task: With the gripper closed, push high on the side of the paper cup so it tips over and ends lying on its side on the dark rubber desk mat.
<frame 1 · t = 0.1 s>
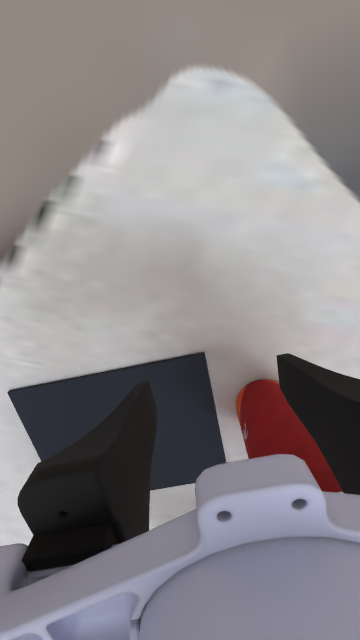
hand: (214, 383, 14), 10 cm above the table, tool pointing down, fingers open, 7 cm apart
desk mat: (126, 435, 27), on the table
paper cup: (262, 401, 26), on the table
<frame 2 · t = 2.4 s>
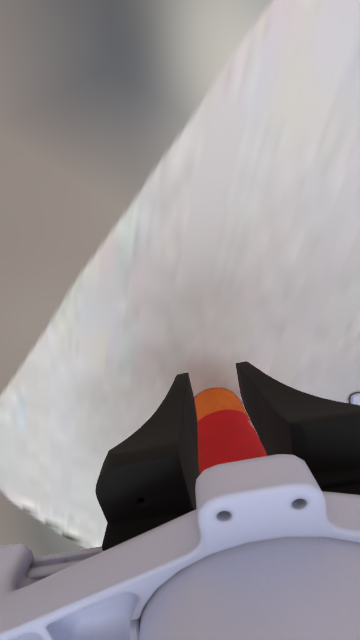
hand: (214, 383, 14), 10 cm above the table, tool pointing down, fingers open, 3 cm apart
paper cup: (215, 408, 27), on the table
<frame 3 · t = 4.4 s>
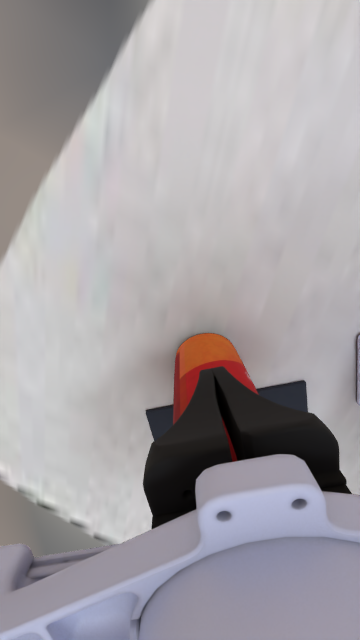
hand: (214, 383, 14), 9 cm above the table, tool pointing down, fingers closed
desk mat: (237, 469, 28), on the table
paper cup: (205, 355, 23), point 1 cm above the table, touching gripper
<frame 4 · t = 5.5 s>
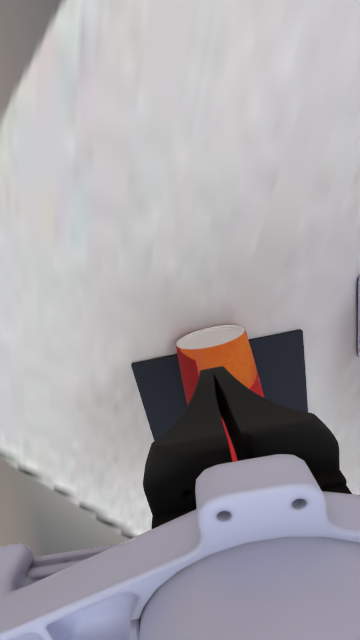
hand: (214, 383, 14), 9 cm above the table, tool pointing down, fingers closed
desk mat: (230, 431, 26), on the table
paper cup: (209, 333, 20), point 3 cm above the table, touching desk mat
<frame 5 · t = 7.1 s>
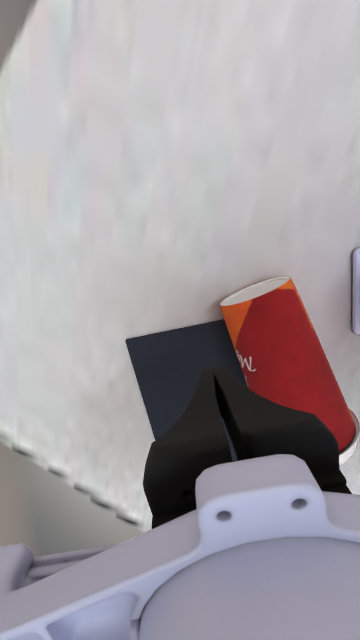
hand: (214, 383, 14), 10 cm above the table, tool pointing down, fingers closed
desk mat: (225, 410, 26), on the table
paper cup: (252, 288, 19), point 3 cm above the table, touching desk mat
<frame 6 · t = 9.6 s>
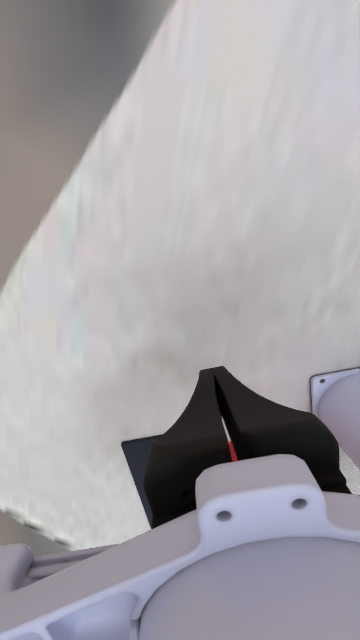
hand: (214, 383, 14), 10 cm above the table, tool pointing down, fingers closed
desk mat: (207, 494, 31), on the table
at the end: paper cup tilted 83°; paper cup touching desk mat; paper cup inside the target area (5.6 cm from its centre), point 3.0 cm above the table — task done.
